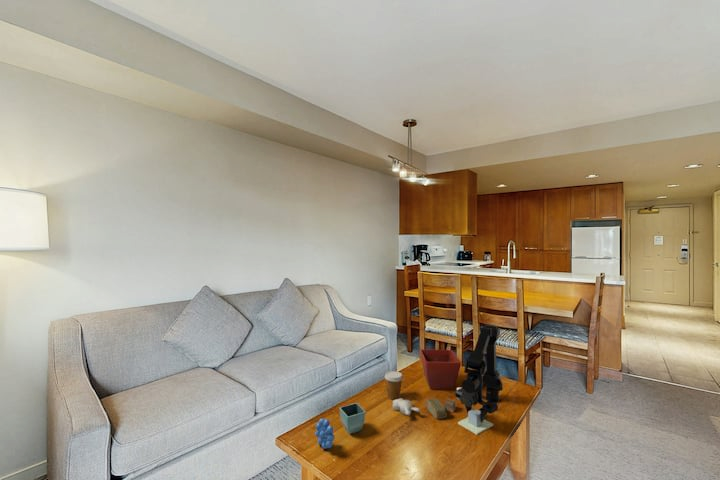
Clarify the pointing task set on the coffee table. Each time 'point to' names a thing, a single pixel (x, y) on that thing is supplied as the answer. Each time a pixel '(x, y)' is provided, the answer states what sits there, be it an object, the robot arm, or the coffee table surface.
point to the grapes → (324, 433)
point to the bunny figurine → (404, 406)
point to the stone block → (436, 408)
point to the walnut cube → (450, 405)
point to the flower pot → (352, 417)
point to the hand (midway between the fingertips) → (475, 418)
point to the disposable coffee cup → (393, 384)
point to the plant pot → (440, 368)
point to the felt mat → (472, 427)
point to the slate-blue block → (474, 417)
